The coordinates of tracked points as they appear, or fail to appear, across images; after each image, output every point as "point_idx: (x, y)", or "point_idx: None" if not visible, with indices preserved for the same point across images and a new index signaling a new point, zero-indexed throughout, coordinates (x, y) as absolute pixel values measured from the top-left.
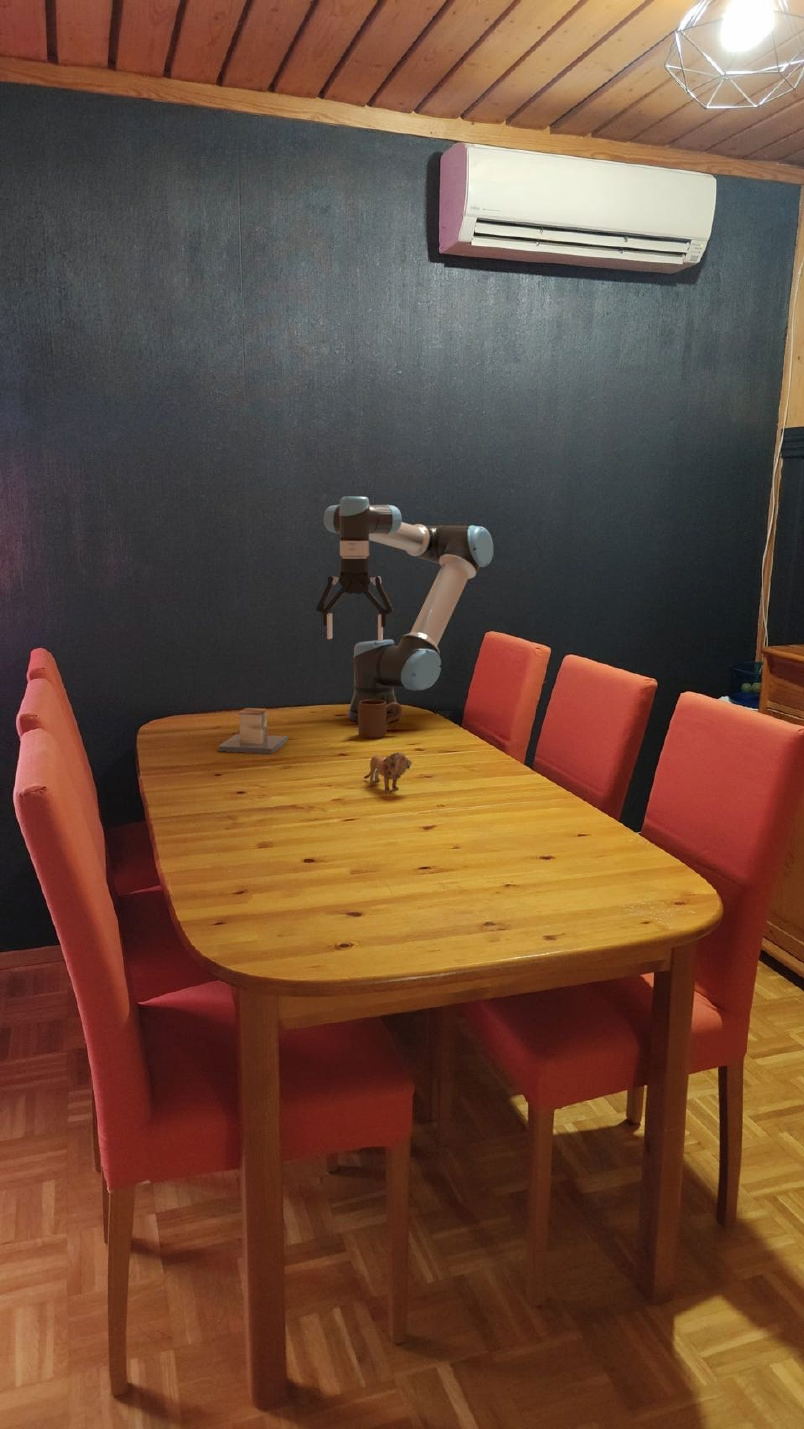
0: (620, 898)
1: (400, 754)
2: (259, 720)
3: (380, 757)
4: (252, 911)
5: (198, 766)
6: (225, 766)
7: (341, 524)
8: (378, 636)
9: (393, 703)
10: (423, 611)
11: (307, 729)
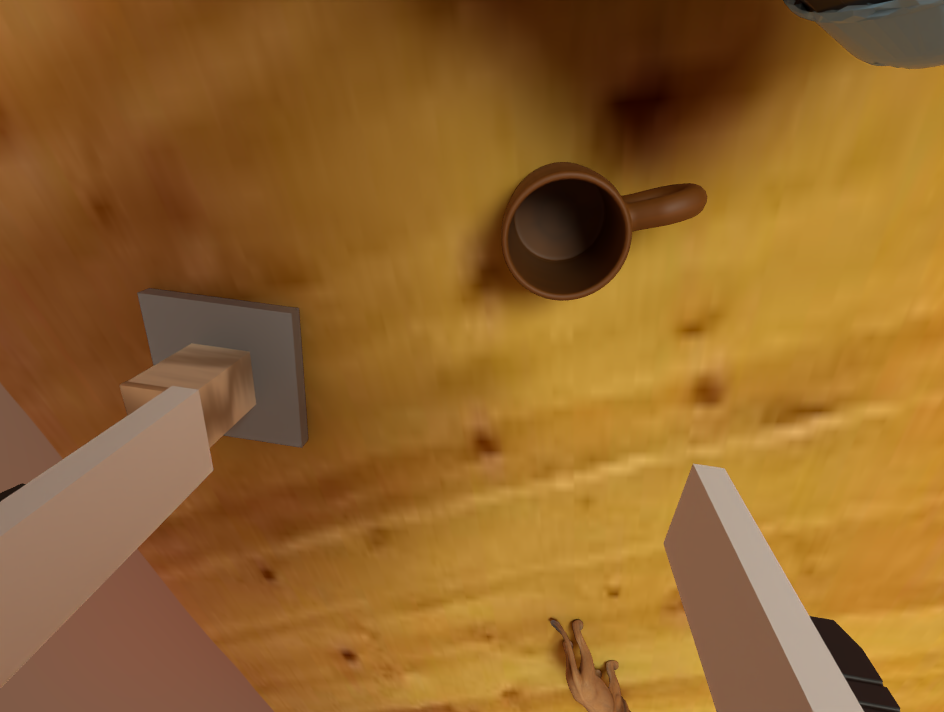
0: None
1: None
2: (214, 442)
3: (589, 704)
4: None
5: (203, 525)
6: (253, 527)
7: None
8: (678, 575)
9: (670, 222)
10: None
11: (305, 116)
